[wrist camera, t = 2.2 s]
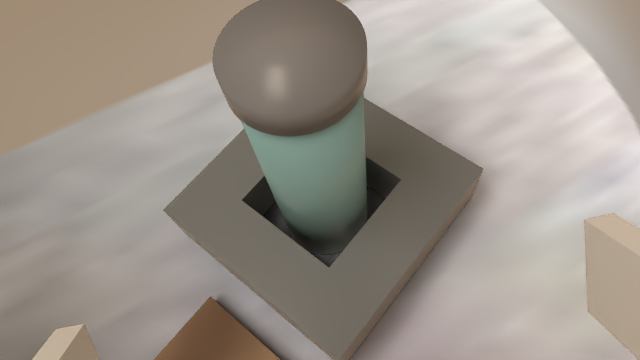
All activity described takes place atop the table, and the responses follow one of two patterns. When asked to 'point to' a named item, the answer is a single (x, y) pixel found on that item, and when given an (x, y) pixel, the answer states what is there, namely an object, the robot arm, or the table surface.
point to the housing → (360, 254)
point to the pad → (215, 338)
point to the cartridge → (302, 111)
